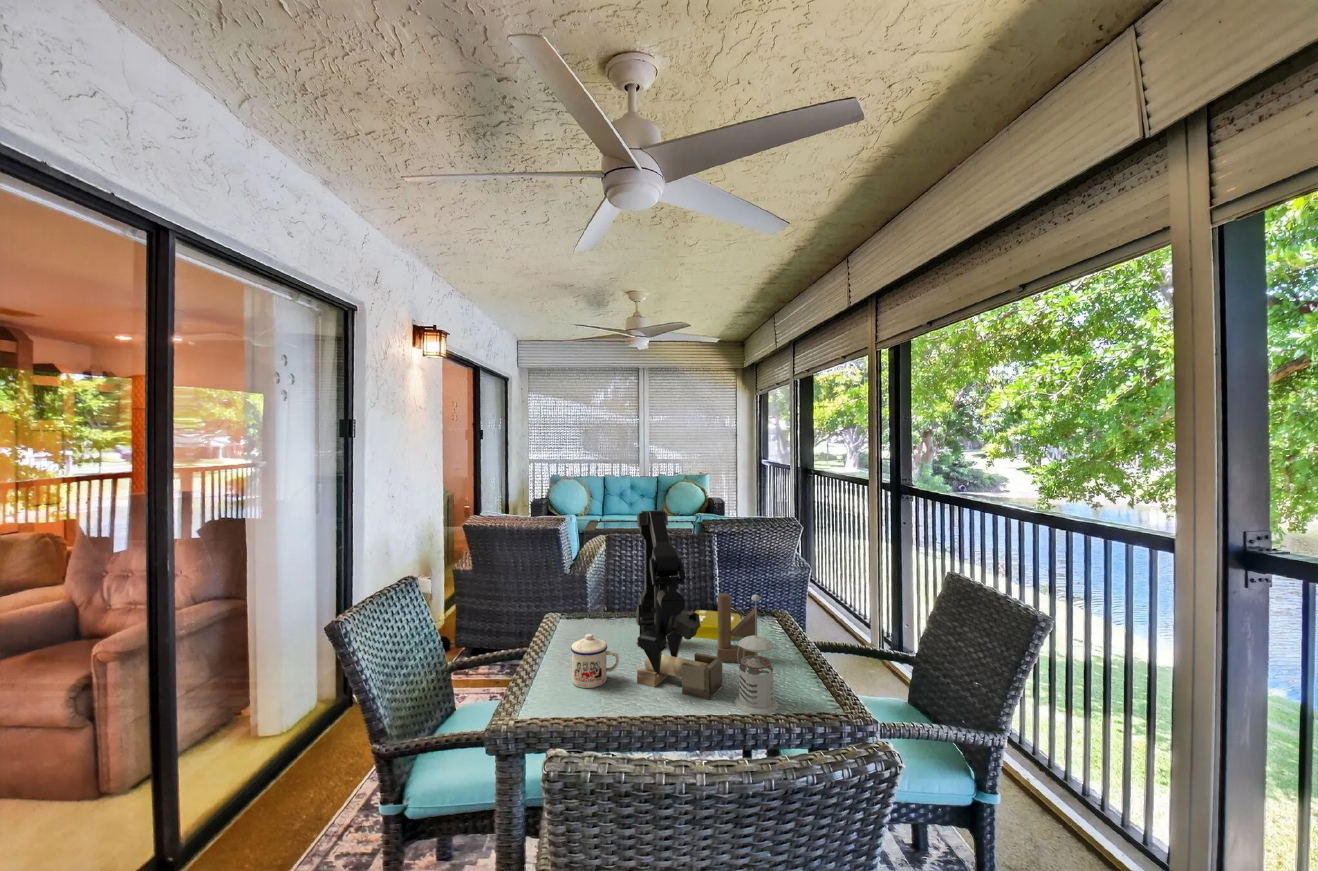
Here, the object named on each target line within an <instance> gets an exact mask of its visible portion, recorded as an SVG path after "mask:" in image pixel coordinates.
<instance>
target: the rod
mask: <svg viewBox="0 0 1318 871" xmlns="http://www.w3.org/2000/svg"><path fill="white" fill-rule="evenodd" d="M683 663H688V664H693V665H698V666H702V667H707V666H708V665H709V664H708V663H703V662H698V661H695V660H693V659H686V658H684V657H683V658H682V657H678V656H677V657H673V656H671V655H667V654H663V653H662V656H661V666H660V672H659V673H663V674H667V675H669V676H673V677H677V678H681V679H682V664H683ZM644 667H645V669H646V670H649V671H654V669H653V667H652V665H651V663H650V661H649V659H648V657H647V655H646V656H645V661H644ZM654 672H655V671H654Z"/></svg>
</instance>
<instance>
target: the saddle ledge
mask: <svg viewBox="0 0 1318 871" xmlns="http://www.w3.org/2000/svg"><path fill="white" fill-rule="evenodd" d="M636 672H637V673H636V674H637V675H636V684H638V685H639V684H640V685H643V686H648V687H652V688H655V687H657V686H658V685H659V684H660V683H662V682H663V681H664V680H665V679H667V677H669V676H670V675H667V674H663V673H656V672H654V671H649V670H646V668H645V669H643V668H638V669H637V671H636Z"/></svg>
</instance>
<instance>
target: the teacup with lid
mask: <svg viewBox="0 0 1318 871" xmlns="http://www.w3.org/2000/svg"><path fill="white" fill-rule="evenodd" d="M570 650H571V681H572V684H573V685H574V686H576V687H577V688H580V689H581V688H582V689H592V688H598V687H600V686H602V685H604V684H605V683H606V682H607V673H608V672H609V673H610V672H613V671H615V669H616V668H617V667H618V665H619V661H620V657H619V654H618V653H617V652H615V651H612V650H608V644H607V643H606V641H605V640H602V639H599V638H596V637H594V635H593V633H592V634H591V633H587V634H585V636H584V638H581V639H579V640H577V641H575V642H573V643H572V645H571V647H570ZM607 650H608V651H607ZM607 656H613V657H615V660H616V661H615V663H614V665H613V666H611V667H607Z"/></svg>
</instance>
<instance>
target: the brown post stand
mask: <svg viewBox="0 0 1318 871" xmlns="http://www.w3.org/2000/svg"><path fill="white" fill-rule="evenodd" d="M731 603H732V596H731V594H730V593H727V592H726V593H725V592H722V593H719V594H717V612H718V640H717V646H716V650H717V651H716V656H717V657H722V663H738V660H739V663H741V662H740V660H741V659H742V658H743V650H744V649H743V648H741V647H740V648H739V645H737V644H732V640H731V636H735V637H742V639H743V638H745V637H747V636H753V635H755V607H754V608H753V609H752V610H751V611H750V612H749V613H747V615H746V616H745V617H744V618H742V620H740V623H739V624H738V625H737V626H736V627H735V628H734V629H733V630H732V631H731V613H732V604H731ZM756 636H758V610H757V609H756ZM738 648H739V652H738ZM737 652H738V660H737ZM750 655H752V656H753V655H755V652H752V651H748V650H747V651H745V650H744V657H745V656H750ZM756 656H758V652H756Z"/></svg>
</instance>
